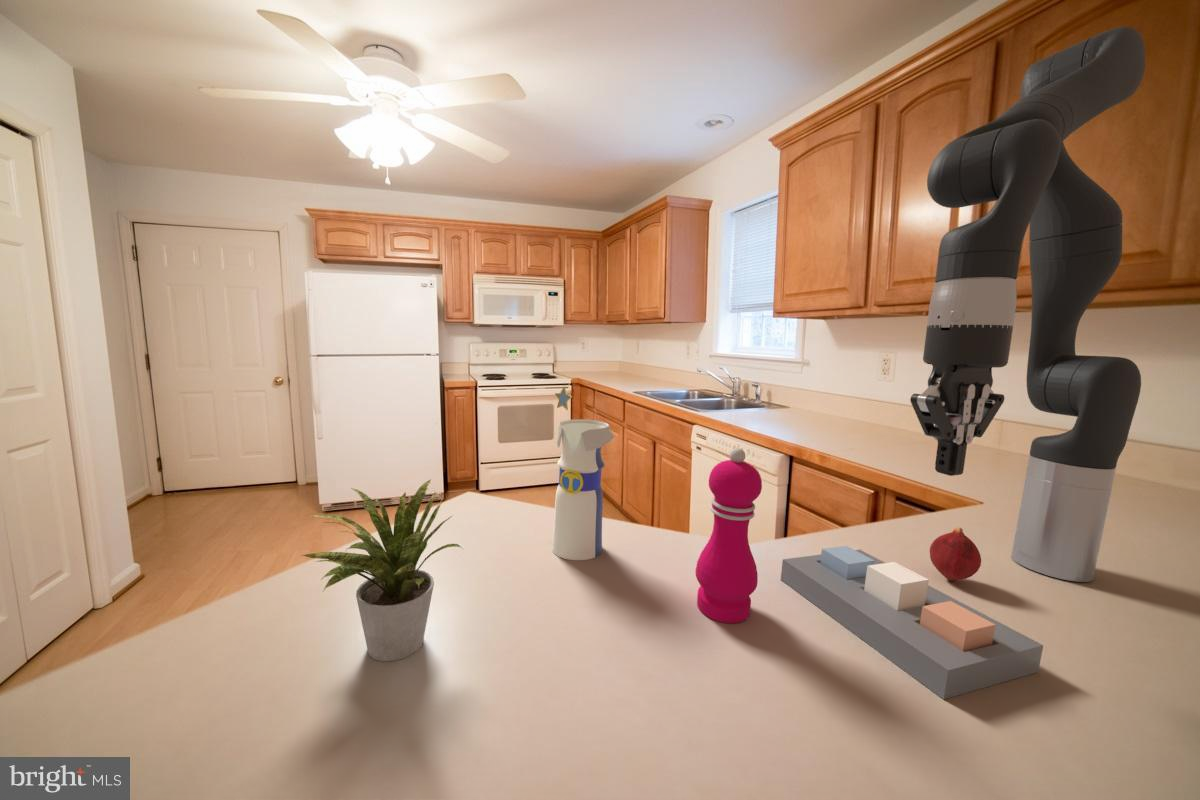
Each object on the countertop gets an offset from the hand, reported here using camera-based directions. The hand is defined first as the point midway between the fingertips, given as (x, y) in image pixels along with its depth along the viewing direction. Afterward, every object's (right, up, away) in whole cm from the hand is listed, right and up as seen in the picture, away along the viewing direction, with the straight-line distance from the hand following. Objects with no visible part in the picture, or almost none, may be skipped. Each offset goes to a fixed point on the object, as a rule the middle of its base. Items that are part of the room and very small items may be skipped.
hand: (948, 473), depth 53 cm
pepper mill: (-26, -17, +3) cm, 31 cm away
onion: (+10, -18, +13) cm, 24 cm away
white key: (-5, -16, +2) cm, 17 cm away
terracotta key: (-3, -18, -5) cm, 19 cm away
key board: (-5, -18, +2) cm, 19 cm away
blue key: (-8, -16, +8) cm, 20 cm away
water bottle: (-44, -14, +16) cm, 49 cm away
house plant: (-62, -16, -6) cm, 64 cm away
